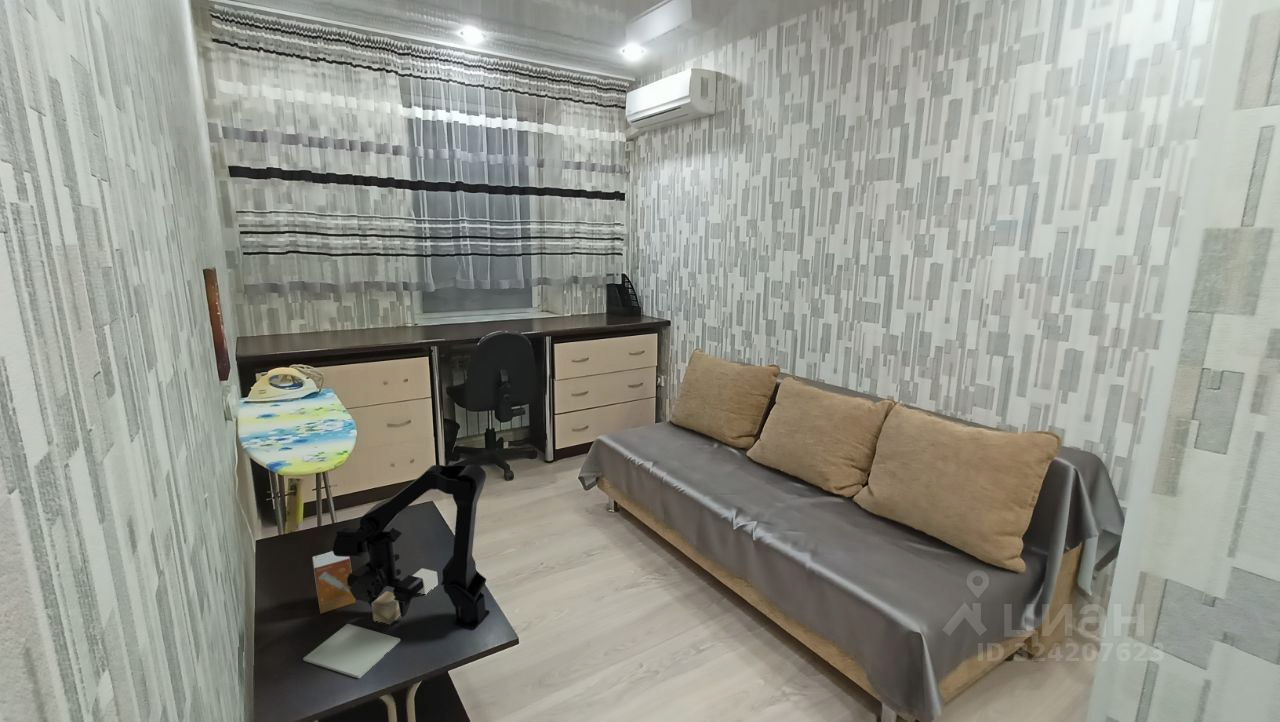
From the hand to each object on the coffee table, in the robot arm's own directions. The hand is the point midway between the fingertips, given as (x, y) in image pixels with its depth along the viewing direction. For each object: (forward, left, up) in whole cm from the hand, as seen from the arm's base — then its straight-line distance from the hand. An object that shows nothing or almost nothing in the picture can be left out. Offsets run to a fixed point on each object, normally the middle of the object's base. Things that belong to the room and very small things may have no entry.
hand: (388, 612), depth 137 cm
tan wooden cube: (0, 0, -1) cm, 1 cm away
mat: (-1, +12, -1) cm, 12 cm away
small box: (+17, 0, -2) cm, 17 cm away
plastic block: (0, -12, -1) cm, 12 cm away
